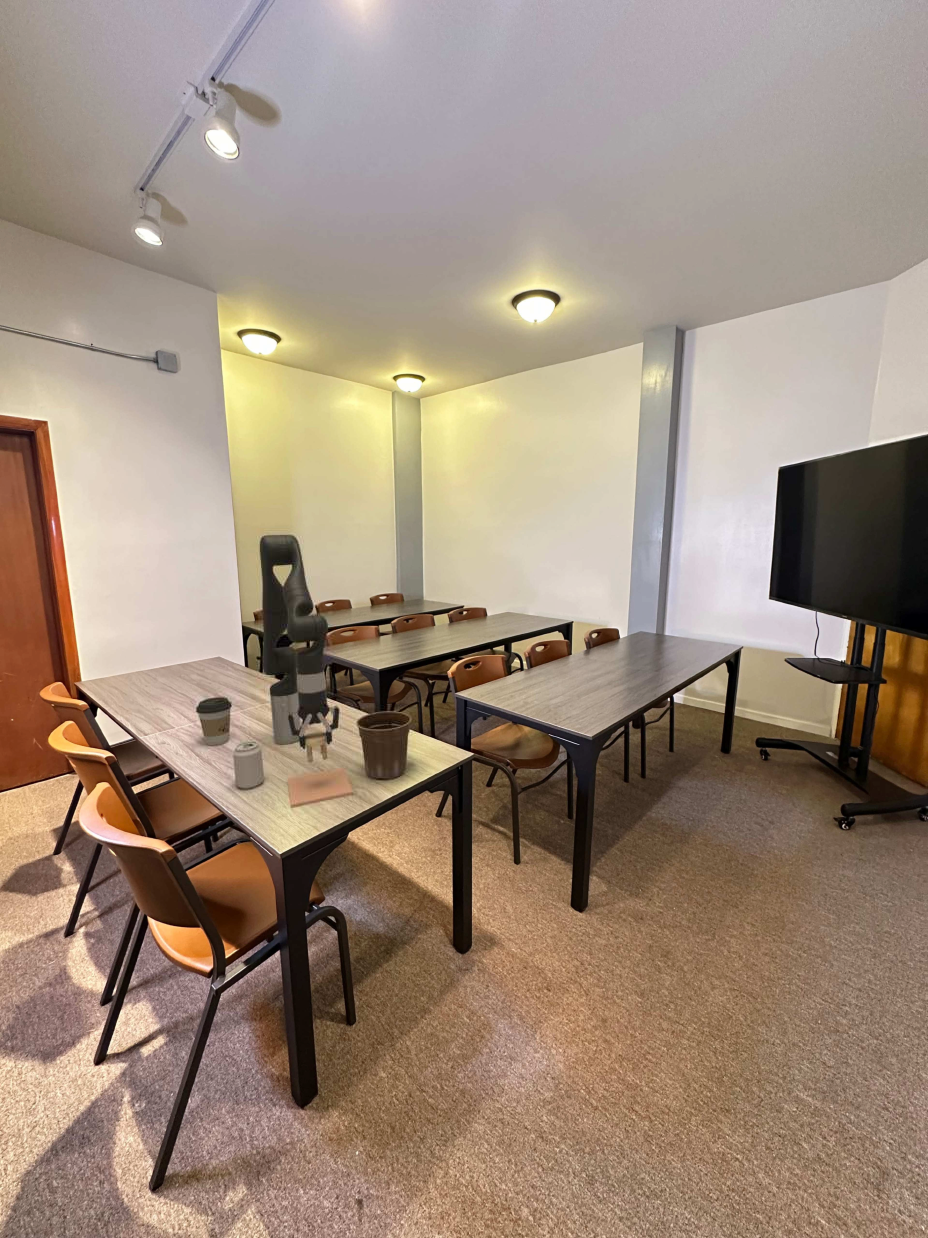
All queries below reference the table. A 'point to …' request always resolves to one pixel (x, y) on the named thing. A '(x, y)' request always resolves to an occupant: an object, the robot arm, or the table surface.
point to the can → (248, 764)
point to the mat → (318, 787)
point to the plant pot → (384, 743)
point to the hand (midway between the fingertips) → (316, 745)
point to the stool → (316, 744)
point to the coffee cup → (215, 720)
